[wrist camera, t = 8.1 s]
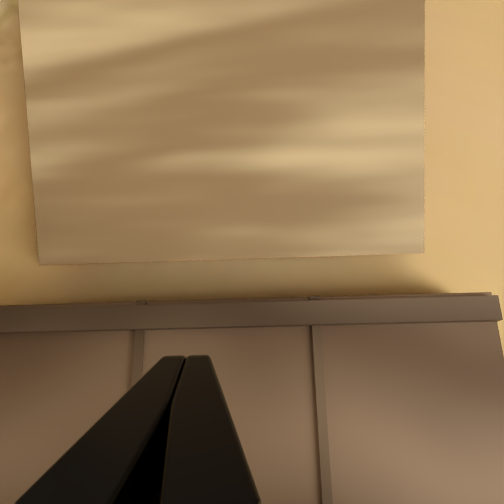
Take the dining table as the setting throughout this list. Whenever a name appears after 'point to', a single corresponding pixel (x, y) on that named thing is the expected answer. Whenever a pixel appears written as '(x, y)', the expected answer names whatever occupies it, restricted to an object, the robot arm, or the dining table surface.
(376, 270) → the dining table surface
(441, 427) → the wooden panel
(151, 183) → the plank
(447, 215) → the dining table surface
